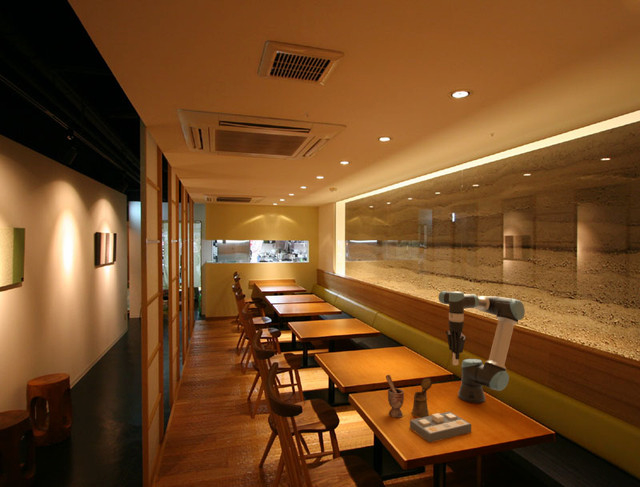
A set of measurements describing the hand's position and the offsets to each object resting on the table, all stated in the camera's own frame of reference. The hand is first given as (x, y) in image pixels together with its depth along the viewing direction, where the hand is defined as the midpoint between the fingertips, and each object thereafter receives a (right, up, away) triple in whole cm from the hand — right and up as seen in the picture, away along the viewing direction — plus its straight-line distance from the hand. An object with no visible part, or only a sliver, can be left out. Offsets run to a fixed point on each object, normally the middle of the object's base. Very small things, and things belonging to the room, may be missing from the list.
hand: (455, 364), depth 201 cm
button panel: (-12, -29, -11) cm, 34 cm away
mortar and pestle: (-32, -29, +6) cm, 44 cm away
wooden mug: (-16, -29, +8) cm, 34 cm away
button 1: (-20, -28, -13) cm, 37 cm away
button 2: (-5, -28, -6) cm, 29 cm away
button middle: (-13, -27, -9) cm, 31 cm away
